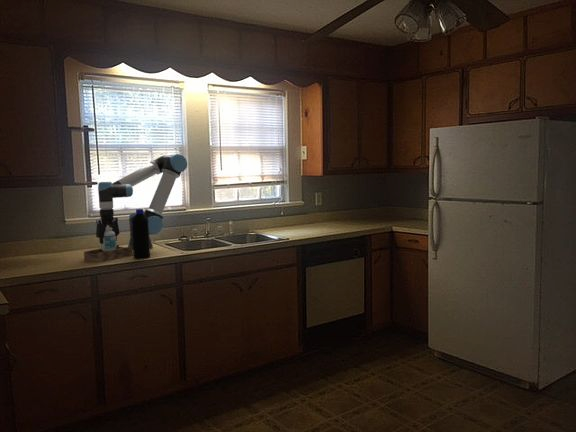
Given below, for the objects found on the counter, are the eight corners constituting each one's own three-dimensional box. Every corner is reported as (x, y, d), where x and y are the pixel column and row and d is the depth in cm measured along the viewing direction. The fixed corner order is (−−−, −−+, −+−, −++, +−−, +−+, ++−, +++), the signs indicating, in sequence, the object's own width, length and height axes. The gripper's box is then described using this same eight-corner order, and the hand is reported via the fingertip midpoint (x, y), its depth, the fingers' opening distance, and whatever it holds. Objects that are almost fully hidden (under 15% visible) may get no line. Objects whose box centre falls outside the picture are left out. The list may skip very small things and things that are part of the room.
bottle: (131, 257, 285) (129, 209, 282) (146, 255, 291) (143, 208, 288) (137, 259, 278) (135, 210, 275) (152, 257, 284) (150, 209, 281)
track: (117, 253, 300) (117, 244, 300) (133, 254, 294) (132, 246, 293) (84, 260, 279) (83, 251, 279) (100, 262, 273) (99, 253, 272)
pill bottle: (99, 251, 284) (97, 228, 283) (108, 249, 291) (107, 226, 289) (109, 252, 281) (108, 228, 280) (118, 250, 288) (117, 227, 287)
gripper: (115, 206, 294) (118, 244, 297) (87, 210, 276) (89, 250, 279) (124, 207, 290) (127, 245, 293) (96, 210, 273) (98, 251, 275)
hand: (108, 247), depth 286 cm, fingers closed on pill bottle, 7 cm apart
